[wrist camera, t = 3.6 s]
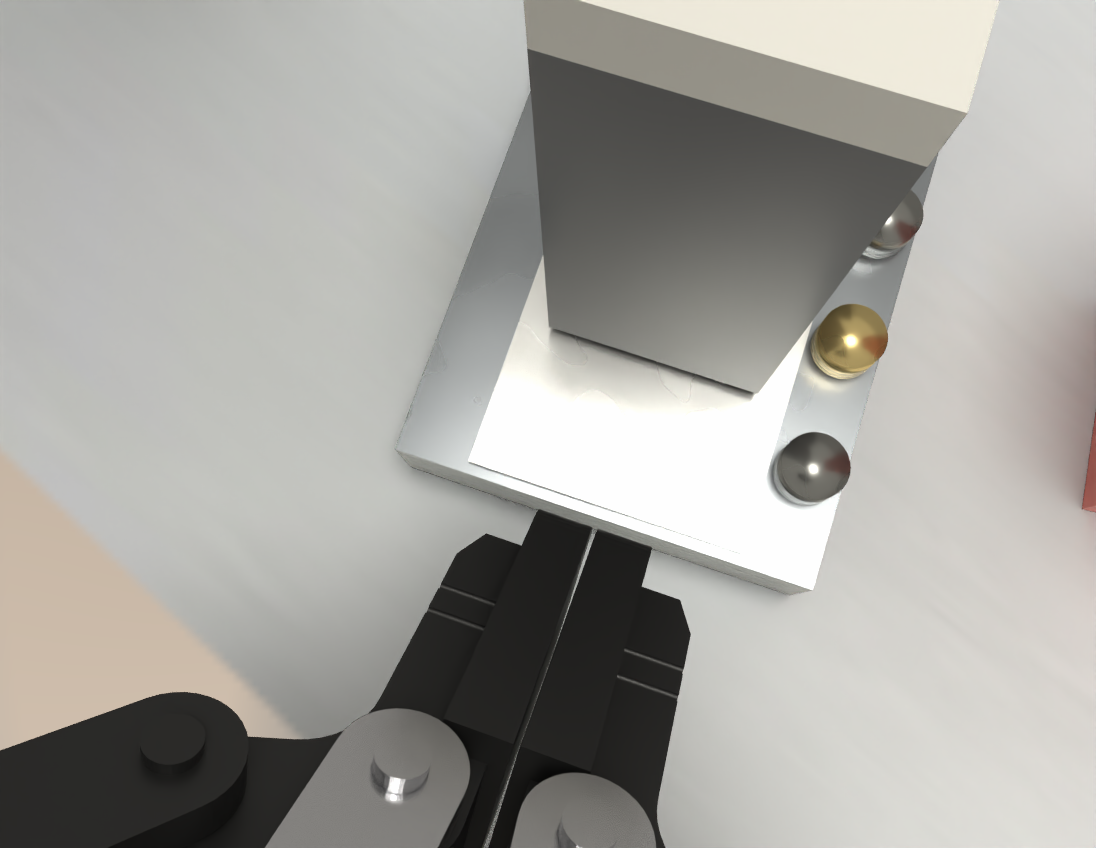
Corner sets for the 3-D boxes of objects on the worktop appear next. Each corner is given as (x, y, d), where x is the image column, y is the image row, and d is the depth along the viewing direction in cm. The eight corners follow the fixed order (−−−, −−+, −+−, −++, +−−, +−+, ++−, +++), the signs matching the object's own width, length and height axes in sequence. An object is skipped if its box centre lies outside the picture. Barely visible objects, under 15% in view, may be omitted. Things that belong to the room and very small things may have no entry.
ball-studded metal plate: (789, 595, 20) (859, 580, 15) (411, 466, 21) (362, 413, 16) (953, 33, 23) (1058, -135, 18) (610, -64, 23) (619, -251, 18)
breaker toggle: (758, 394, 18) (968, 113, 9) (549, 326, 19) (523, -16, 9) (803, 246, 19) (1049, -175, 9) (600, 183, 19) (627, -286, 10)
